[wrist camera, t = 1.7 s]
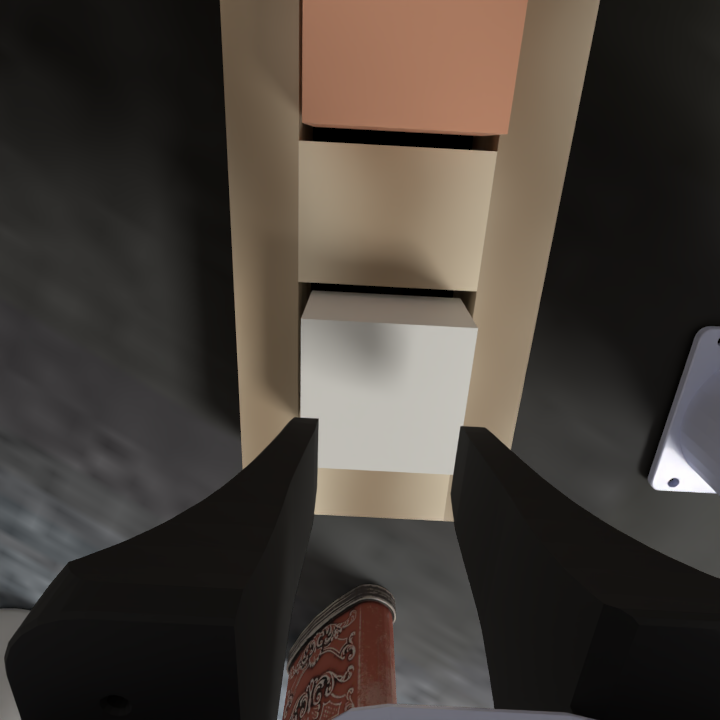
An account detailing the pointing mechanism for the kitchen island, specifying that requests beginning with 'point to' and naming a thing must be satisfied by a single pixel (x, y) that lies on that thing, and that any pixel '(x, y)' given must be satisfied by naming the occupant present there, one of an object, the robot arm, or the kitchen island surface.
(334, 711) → the lighter
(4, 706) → the milk bottle
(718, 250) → the kitchen island surface
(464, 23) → the terracotta button
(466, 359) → the grey button
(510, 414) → the button panel
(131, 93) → the kitchen island surface
